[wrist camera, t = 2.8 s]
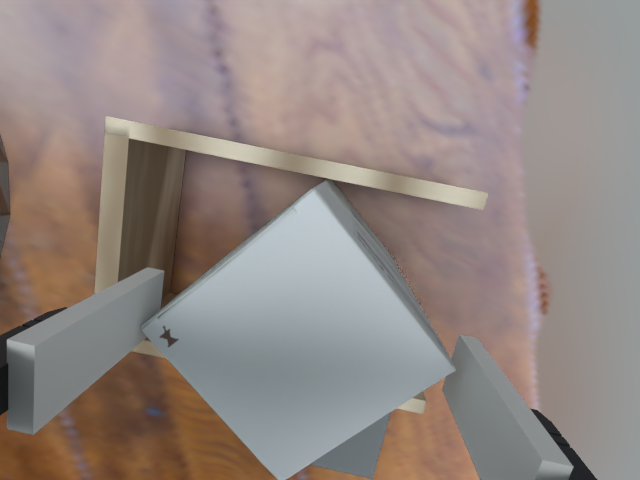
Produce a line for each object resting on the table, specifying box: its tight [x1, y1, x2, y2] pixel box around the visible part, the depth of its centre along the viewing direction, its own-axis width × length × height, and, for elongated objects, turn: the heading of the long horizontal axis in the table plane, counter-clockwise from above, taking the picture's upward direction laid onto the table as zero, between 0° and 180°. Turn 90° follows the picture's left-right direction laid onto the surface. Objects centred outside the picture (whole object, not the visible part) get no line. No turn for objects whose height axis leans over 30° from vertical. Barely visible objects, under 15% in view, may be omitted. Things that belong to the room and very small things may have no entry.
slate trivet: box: [309, 412, 391, 479], centre depth 33 cm, size 10×10×1 cm
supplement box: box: [141, 178, 456, 480], centre depth 22 cm, size 10×9×17 cm
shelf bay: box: [95, 116, 488, 414], centre depth 26 cm, size 23×15×8 cm, turn 79°
